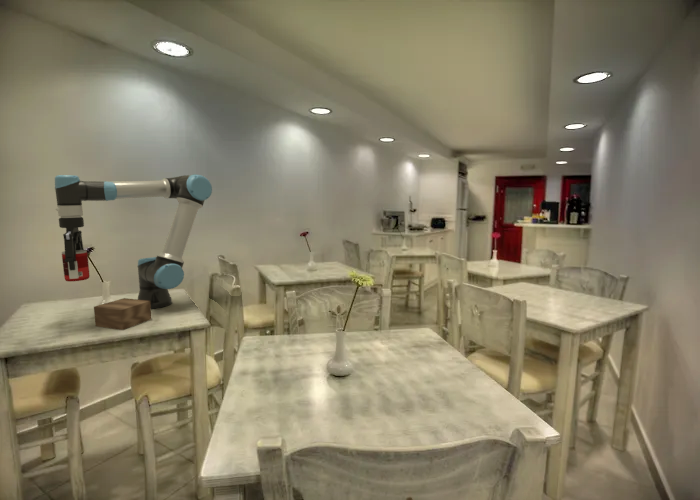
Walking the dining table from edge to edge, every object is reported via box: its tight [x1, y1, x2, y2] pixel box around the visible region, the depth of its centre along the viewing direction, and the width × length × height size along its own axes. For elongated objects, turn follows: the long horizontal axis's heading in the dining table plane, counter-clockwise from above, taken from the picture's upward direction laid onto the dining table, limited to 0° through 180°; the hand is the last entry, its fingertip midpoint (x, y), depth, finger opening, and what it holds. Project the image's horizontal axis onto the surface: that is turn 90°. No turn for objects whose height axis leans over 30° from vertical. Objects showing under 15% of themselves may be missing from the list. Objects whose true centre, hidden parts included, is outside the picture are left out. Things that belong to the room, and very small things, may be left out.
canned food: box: [61, 249, 91, 282], centre depth 145 cm, size 8×8×11 cm
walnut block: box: [93, 297, 152, 331], centre depth 155 cm, size 14×14×8 cm
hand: (77, 276), depth 146 cm, fingers closed on canned food, 8 cm apart
